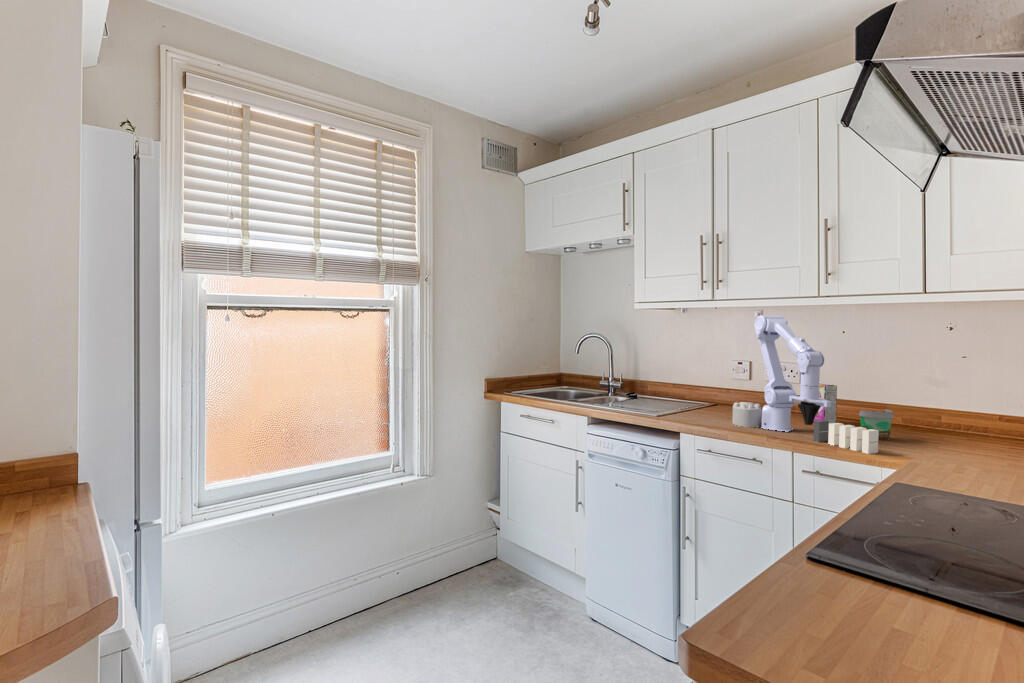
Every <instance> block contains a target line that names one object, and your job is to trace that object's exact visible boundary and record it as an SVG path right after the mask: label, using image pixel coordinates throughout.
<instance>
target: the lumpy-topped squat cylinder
mask: <svg viewBox="0 0 1024 683" xmlns="http://www.w3.org/2000/svg"><path fill="white" fill-rule="evenodd" d="M731 420H732V422H731V423H733V424H735V425H734V426H736V425H738V426H737V427H740V426H743V427H742V428H747V427H756V428H758V427H757V426H761V427H762V406H761V404H760V403H754V402H747V401H740V402H738V401H737V402H734V403H733V404H732V419H731ZM733 424H732V425H733Z"/></svg>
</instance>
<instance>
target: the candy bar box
mask: <svg viewBox="0 0 1024 683" xmlns="http://www.w3.org/2000/svg"><path fill="white" fill-rule="evenodd" d="M837 391H838V385H836V384H831V383H826V382H821V381H819V399H823V400H827V401H831V407H824V406H821V408H820V409H819V410H818V412H817V414H816V416H815V418H814V421H817V420H826V421H829V424H830V423H837V401H838V397H837V396H838V395H837V394H838V392H837ZM811 403H813V402H811ZM814 421H813V423H814Z"/></svg>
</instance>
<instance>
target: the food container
mask: <svg viewBox="0 0 1024 683" xmlns="http://www.w3.org/2000/svg"><path fill="white" fill-rule="evenodd" d="M858 416H859V417H860V427H863V428H867V430H868V429H874V430H879V435H878V440H887V441H889V440H890V435H891V429H892V428H891V427H892V420H893V419H894V418H895V415H894V412H893V410H891V409H887V408H884V411H877V410H871V411H870V410H863V409H860V411H859V414H858ZM888 439H889V440H888Z"/></svg>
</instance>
